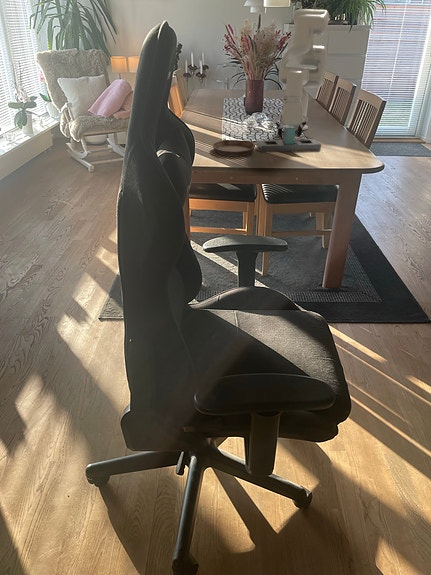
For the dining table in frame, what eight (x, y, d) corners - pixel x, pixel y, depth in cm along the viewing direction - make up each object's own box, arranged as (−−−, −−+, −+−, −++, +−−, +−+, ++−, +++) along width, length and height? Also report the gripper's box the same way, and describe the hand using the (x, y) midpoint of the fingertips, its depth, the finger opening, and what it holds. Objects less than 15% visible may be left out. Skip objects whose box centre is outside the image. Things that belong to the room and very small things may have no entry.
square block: (283, 147, 231) (285, 126, 225) (290, 147, 231) (293, 126, 226) (285, 149, 228) (287, 128, 222) (293, 149, 228) (295, 128, 223)
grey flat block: (256, 146, 231) (256, 140, 230) (313, 144, 236) (314, 138, 234) (261, 152, 223) (261, 146, 222) (320, 150, 227) (321, 144, 226)
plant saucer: (203, 151, 224) (203, 144, 222) (232, 143, 236) (233, 137, 235) (234, 161, 212) (234, 153, 210) (263, 152, 224) (264, 145, 222)
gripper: (277, 101, 213) (274, 138, 222) (313, 100, 215) (308, 137, 225) (273, 97, 219) (270, 134, 228) (308, 97, 221) (303, 133, 231)
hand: (289, 136), depth 226 cm, fingers open, 9 cm apart
